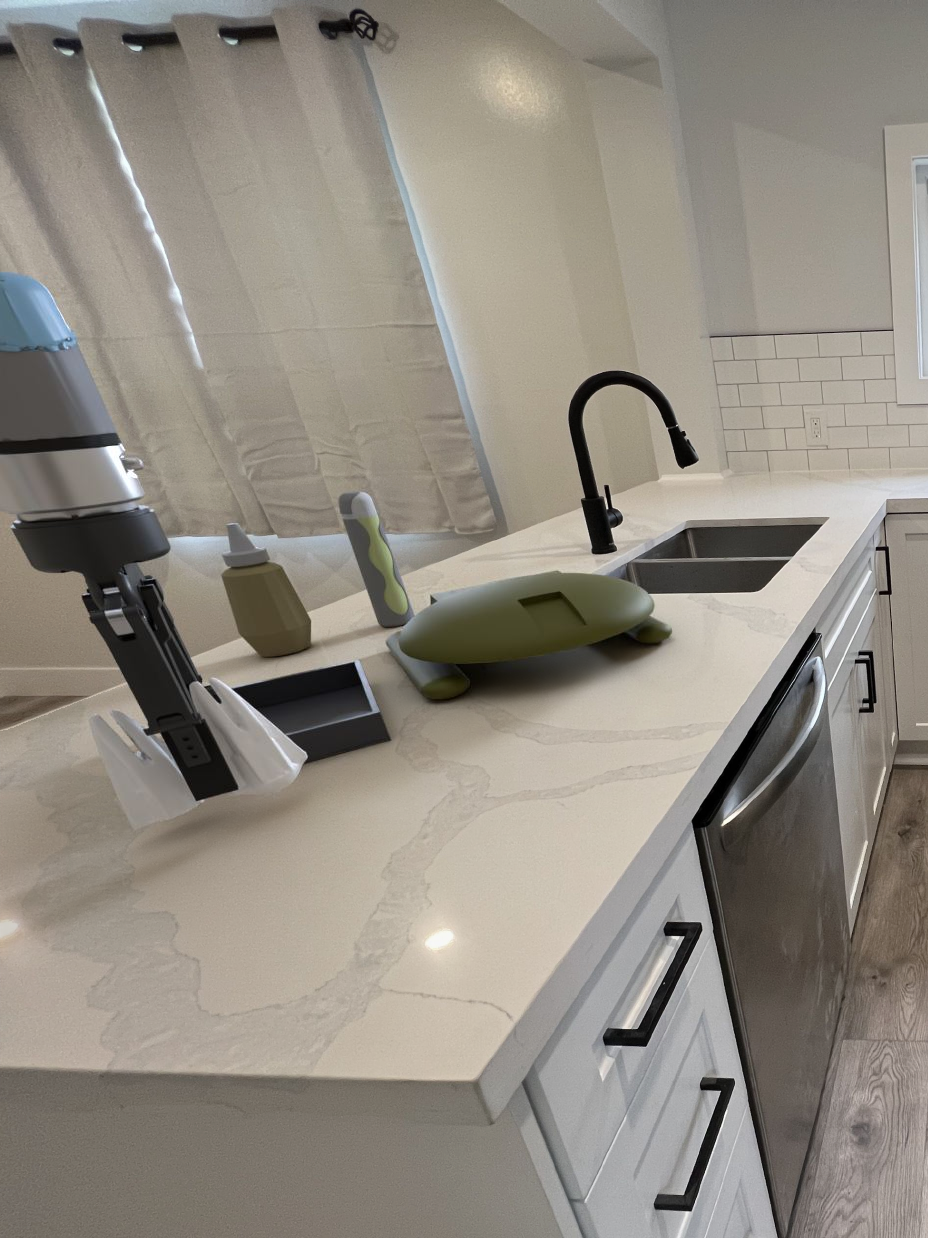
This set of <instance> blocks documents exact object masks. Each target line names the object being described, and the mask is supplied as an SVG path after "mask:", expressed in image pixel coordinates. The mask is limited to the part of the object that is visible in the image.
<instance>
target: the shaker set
mask: <svg viewBox="0 0 928 1238" xmlns="http://www.w3.org/2000/svg"><path fill="white" fill-rule="evenodd" d="M208 683H209V685H211V687H212V688H213V689H214V691H215V692H216V694H217V695H218V697H219V698H220V699H221V704H219V703H218V702H217V701H216V700H215V699H214V698H213V697H212V696H211V695H210V693H209V692H208V691H207V690H206V689H205V688H204V687H203V686H204V685H202V684H200V683H199V682H193V683H191V684H190V686H189V688H190V692H191V697H192V700H193V703H194V705H195V708H196V710H197V712H198V713H200V715H201V717H202V719H204V718H205V720H206V722H207V724H208V726H209V728H210V730H211V732H212V734H213V736H214V738H215V740H216V742H217V744H218V746H219V748H220V750H221V752H222V754H223V756H224V758H225V760H226V762H227V764H228V766H229V768H230V770H231V772H232V774H233V777H234V779H235V781H236V783H237V785H238V790H236V791H232V792H228V793H227V796H230V797H235V796H236V797H237V796H250V795H251V796H253V795H254V796H255V795H257V796H258V795H259V796H268V795H269V796H270V795H273V794H276V793H278V792H280V791H283V790H284V789H286V788H288V787H289V786H290V785H291V784H292V783H293V782H294V781H295V780H296V778H297V777H298V775H299V774H300V772H301V770H302V767H303V765H304V764H305V763H304V762H305V761H306V759H307V757H308V756H307V754H306V752H305V751H303V750H302V749H301V748H300V747H298V746H297V745H296V744H295V743H294V742H293V741H292V740H291V739H289V738H288V737H287V736H286V735H285V734H283V733H282V732H281V731H280V730H279V729H278V728H277V727H276V726H274V725H273V724H272V723H271V722H270V721H269V720H268V719H266V718H265V717H264V716H263V715H262V714H260V713H259V712H258V711H257V710H256V709H255V708H253V707H252V706H251V705H250V704H249V703H247V702H246V701H245V700H244V699H243V698H242V697H240V696H239V695H238V694H237V693H236V692H234V691H233V690H232V689H231V687H230V686H228V685H227V684H225V683H224V682H223V681H221V680H219V679H218V678H215V677H209V678H208ZM109 714H110V717H112V720H114V721H115V723H116V724H117V725H118V726H119V727H120V729H121V730H122V731H123V732H124V734H125V735H126V736H127V737H128V739H129V740H130V741H131V742H132V744H133V745H134V746H135V747H136V748H137V749H138V750H137V752H136V753H135V751H133V750H132V748H131V747H129V745H128V744H127V743H126V742H125V741H124V739H122V737H121V736H120V735H119V734H118V733H117V732H116V731H115V729H114V728H113V727H112V726H111V725H110V724H109V722H107V721H106V720H105V719H104V718H103V717H102V716H101V715H100V714H96V713H95V714H92V715H90V716H89V717H88V723H89V727H90V728H89V729H90V730H91V734H92V737H93V740H94V743H95V745H96V748H97V751H98V754H99V755H100V758H101V760H102V763H103V766H104V767H105V770H106V773H107V775H108V777H109V780H110V782H111V785H112V787H113V789H114V791H115V793H116V795H117V799H118V800H119V802H120V804H121V807H122V809H123V811H124V813H125V815H126V819H127V820H128V821H129V823H130V825H131V829H132V830H133V831H137V830H138V829H140V828H142V827H145V826H149V825H151V824H153V823H157V822H164V821H168V820H172V819H174V818H177V817H178V816H181V815H184V814H187V812H190V811H191V810H193V809H195V808H196V807H198V806H199V805H201V804H203V803H204V802H205V799H203V800H200V801H196V800H195V798H194V796H193V794H192V793H191V791H190V789H189V787H188V785H187V783H186V781H185V779H184V777H183V775H182V774H181V772H180V770H179V768H178V766H177V764H176V762H175V760H174V758H173V756H172V755H171V753H170V751H169V749H168V747H167V745H166V743H165V741H164V740H163V739H161V738H159V737H158V736H157V735H156V734H154V735H150V736H147V735H146V734H145V733H144V731H143V729H145V728H146V727H145V726H143V725H142V724H140V723H139V722H138V721H136V720H135V719H133V718H131V717H130V716H128V715H127V714H125V713H124V712H122V711H120V710H118V709H111V710H110V711H109ZM303 763H304V764H303Z"/></svg>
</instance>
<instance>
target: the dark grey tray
mask: <svg viewBox="0 0 928 1238" xmlns="http://www.w3.org/2000/svg"><path fill="white" fill-rule="evenodd" d="M230 688H231V689H232V690H233V691H234V692H236V693H237V694H238V695H239V696H240V697H242V698H243V699H244V700H245V701H246V702H247V703H249V704H250V705H251V706H252V707H253V708H255V709H256V710H257V711H258V712H259V713H260V714H262V715H263V716H264V717H265V718H266V719H268V720H269V721H270V722H271V723H272V724H273V725H274V726H276V727H277V728H278V729H279V730H280V731H281V732H282V733H283V734H285V735H286V736H287V737H288V738H289V739H291V740H292V741H293V742H294V743H295V744H296V745H297V746H298V747H300V748H301V749H302V750H303V751H305V752H306V754H307V756H308V757H307V759H306V761H305V762H304V763H303V765H304V764H307V763H312V762H314V761H318V760H321V759H322V760H323V759H324V758H330V757H333V756H336V755H340V754H343V753H348V752H351V751H355V750H359V749H362V748H366V747H369V746H374V745H377V744H381V743H385V742H388V741H391V740H392V739H391V736H390V734H389V731H388V729H387V726H386V725H387V724H386V723H385V721H384V717H383V715H382V713H381V710H380V707H379V705H378V703H377V700H376V697H375V695H374V692H373V690H372V688H371V684H370V683H369V681H368V678H367V675H366V672H365V671H364V668H363V665H362V663H361V660H360V659H356V660H352V661H351V660H350V661H346V662H342V663H337V664H333V665H329V666H325V667H319V668H314V669H310V670H305V671H301V672H295V673H291V674H288V675H287V674H286V675H282V676H281V675H280V676H278V677H272V678H268V679H263V680H259V681H254V682H250V683H244V684H241V685H235V686H230ZM211 696H212V697H213V698H214V699H215V700H216V701H217V702H218V703H219V704H221V699H220V698H219V697H218V695H217V694H215V695H211Z"/></svg>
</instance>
